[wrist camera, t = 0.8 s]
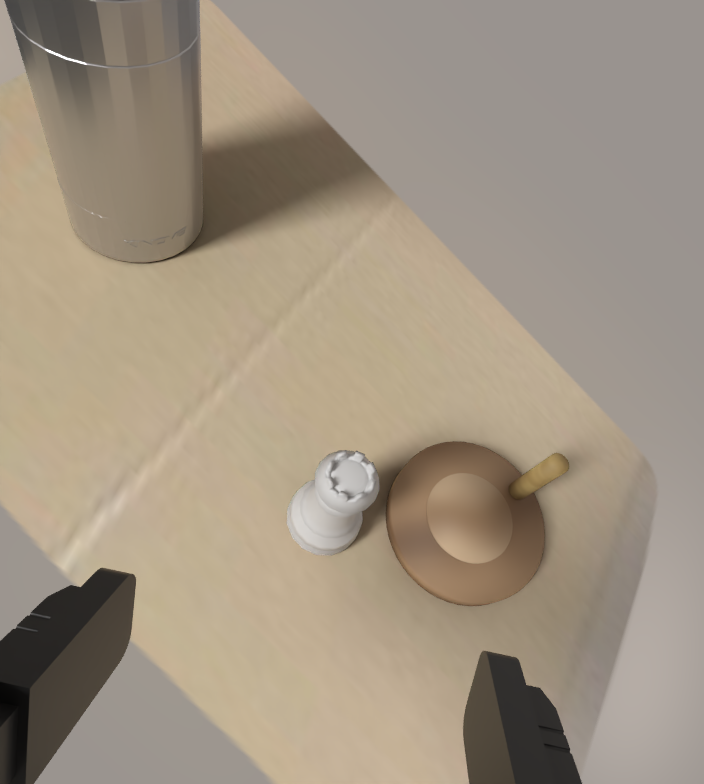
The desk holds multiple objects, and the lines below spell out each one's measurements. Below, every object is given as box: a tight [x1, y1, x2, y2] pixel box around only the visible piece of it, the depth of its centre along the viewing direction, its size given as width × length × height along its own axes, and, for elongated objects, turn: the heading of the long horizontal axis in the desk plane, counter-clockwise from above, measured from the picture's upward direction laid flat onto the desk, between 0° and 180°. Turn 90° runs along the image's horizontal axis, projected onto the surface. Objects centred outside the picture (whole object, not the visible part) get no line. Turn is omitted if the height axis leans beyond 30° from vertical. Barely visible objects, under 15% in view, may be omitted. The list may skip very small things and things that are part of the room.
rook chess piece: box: [287, 450, 379, 555], centre depth 30 cm, size 4×4×8 cm
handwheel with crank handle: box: [386, 442, 569, 606], centre depth 32 cm, size 10×10×6 cm
